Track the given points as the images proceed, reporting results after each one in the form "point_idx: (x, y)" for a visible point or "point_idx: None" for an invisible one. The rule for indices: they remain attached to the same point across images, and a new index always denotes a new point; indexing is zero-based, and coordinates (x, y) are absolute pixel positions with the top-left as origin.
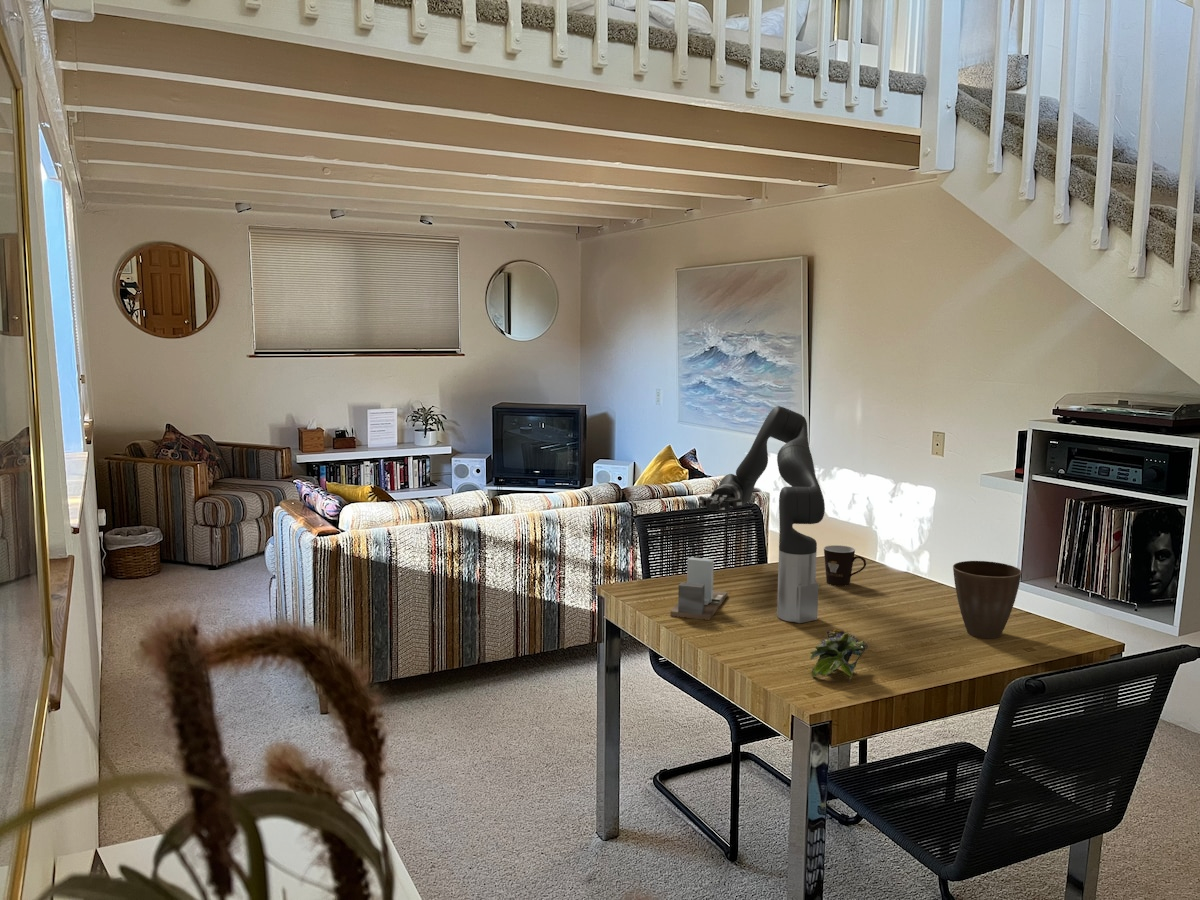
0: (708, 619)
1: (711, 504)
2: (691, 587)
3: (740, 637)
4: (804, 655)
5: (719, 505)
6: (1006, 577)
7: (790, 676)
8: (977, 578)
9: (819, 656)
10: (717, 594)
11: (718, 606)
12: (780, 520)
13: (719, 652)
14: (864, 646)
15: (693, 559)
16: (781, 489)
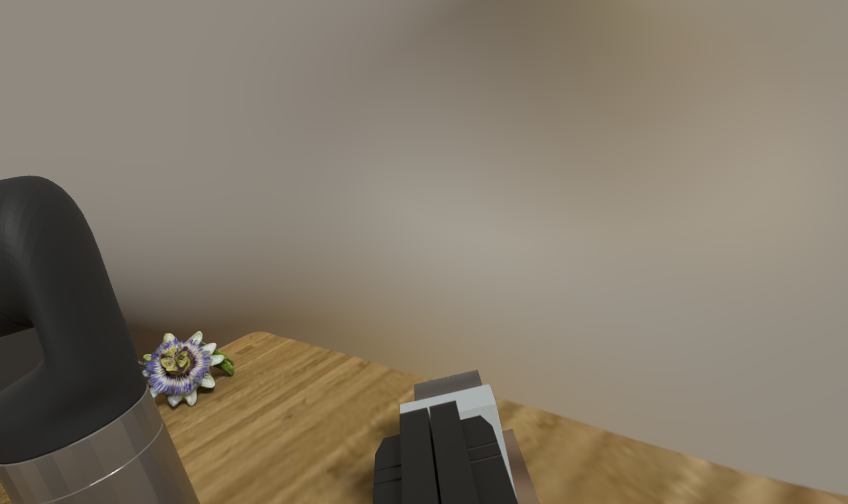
0: None
1: (467, 422)
2: (442, 380)
3: (331, 423)
4: (224, 417)
5: (382, 457)
6: None
7: (262, 365)
8: None
9: (210, 373)
10: None
11: None
12: (107, 287)
13: (360, 369)
14: (145, 363)
15: (468, 392)
16: (41, 184)
